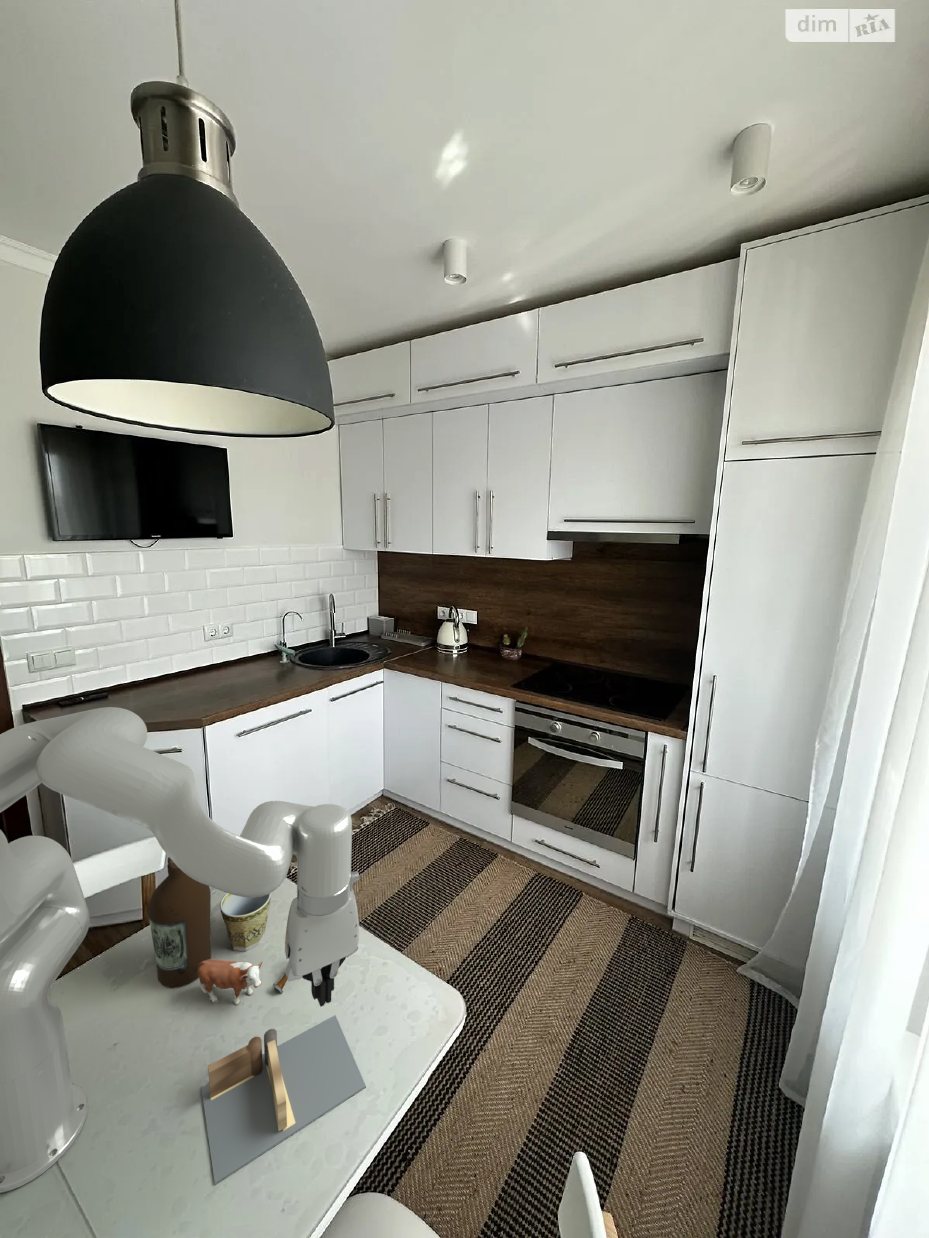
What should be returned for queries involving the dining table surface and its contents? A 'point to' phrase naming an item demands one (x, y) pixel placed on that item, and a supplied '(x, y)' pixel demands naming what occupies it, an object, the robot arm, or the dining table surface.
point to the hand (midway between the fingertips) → (322, 996)
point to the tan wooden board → (275, 1077)
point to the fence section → (236, 1067)
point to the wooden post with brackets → (281, 983)
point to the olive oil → (180, 927)
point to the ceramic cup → (245, 919)
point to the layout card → (312, 1087)
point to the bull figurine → (228, 977)
